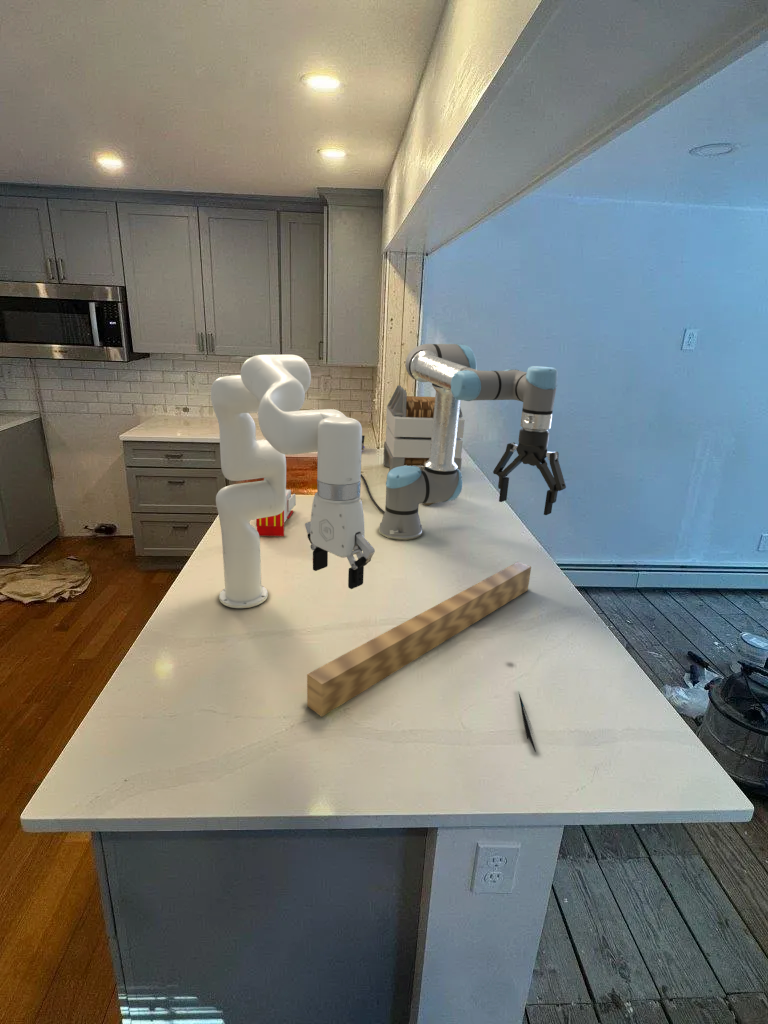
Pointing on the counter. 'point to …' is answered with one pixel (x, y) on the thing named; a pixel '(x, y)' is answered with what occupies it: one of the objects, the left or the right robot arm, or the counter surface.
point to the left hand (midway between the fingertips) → (337, 577)
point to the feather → (526, 723)
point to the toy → (276, 519)
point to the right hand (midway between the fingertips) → (524, 507)
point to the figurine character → (362, 442)
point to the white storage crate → (413, 431)
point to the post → (411, 640)
